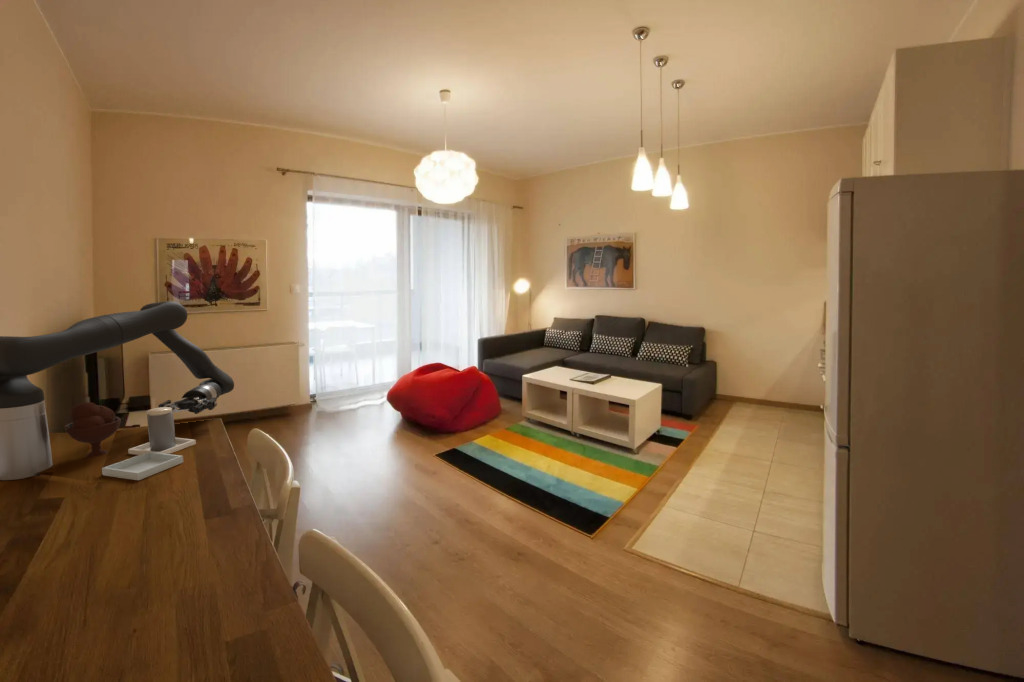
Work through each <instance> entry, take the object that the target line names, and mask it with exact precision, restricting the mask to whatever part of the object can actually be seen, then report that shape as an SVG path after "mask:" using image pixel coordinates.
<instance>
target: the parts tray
mask: <svg viewBox="0 0 1024 682" xmlns="http://www.w3.org/2000/svg"><path fill="white" fill-rule="evenodd" d="M175 441H176V446H175V447H172V448H169V449H166V450H164V451H161V452H157V453H165V454H173V453H176V452H178V451H181V450H184V449H187V448H190V447H192V446H194V445H196V444H197V442H196V441H197V440H196V439H191V438H182V437H175ZM127 451H128V455H135V456H138V455H141V454H143V453H146V452H155V451H150V443H149V442H148V441H147V442H146V443H143V444H140V445H137V446H134V447H130V448H128V450H127Z"/></svg>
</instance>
